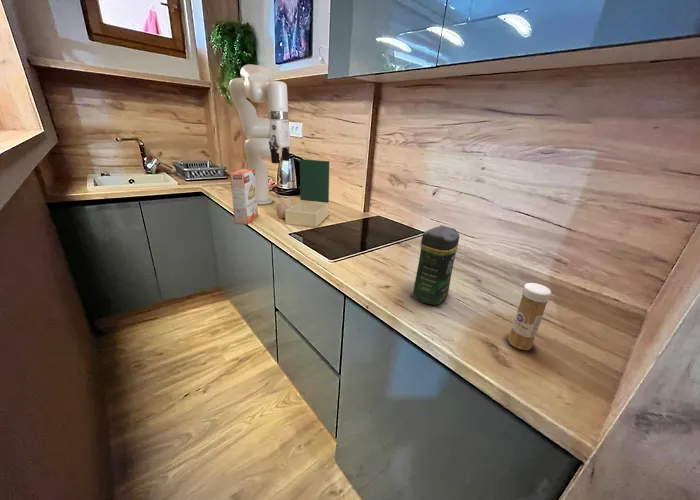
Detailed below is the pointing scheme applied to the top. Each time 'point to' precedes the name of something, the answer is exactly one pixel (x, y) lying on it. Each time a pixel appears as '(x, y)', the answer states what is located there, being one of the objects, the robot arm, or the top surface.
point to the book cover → (314, 180)
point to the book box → (306, 213)
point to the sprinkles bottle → (529, 315)
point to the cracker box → (244, 195)
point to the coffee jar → (435, 264)
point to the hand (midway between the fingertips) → (280, 161)
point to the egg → (281, 209)
